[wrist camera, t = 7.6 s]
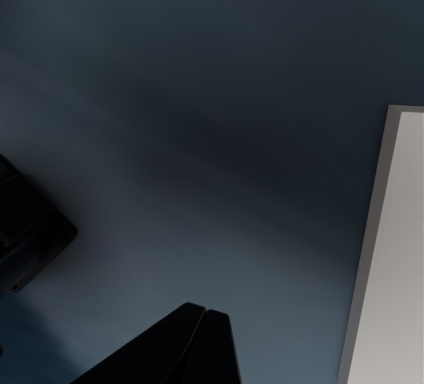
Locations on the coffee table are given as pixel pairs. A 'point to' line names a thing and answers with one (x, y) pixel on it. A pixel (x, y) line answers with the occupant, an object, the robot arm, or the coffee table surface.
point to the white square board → (391, 264)
